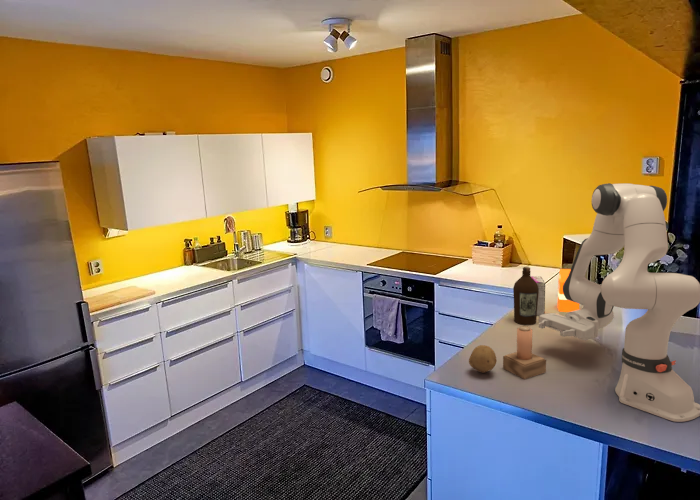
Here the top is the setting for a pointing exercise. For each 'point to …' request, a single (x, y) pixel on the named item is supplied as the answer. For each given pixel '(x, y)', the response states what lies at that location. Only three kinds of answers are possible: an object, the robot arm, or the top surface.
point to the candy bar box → (540, 294)
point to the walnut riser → (524, 365)
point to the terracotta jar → (524, 342)
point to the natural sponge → (482, 358)
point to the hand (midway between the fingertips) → (550, 329)
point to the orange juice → (563, 303)
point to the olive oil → (525, 299)
